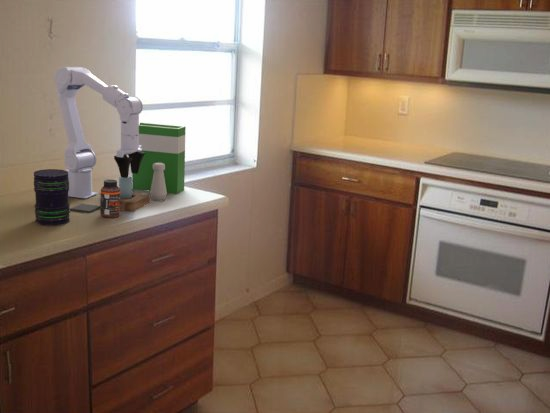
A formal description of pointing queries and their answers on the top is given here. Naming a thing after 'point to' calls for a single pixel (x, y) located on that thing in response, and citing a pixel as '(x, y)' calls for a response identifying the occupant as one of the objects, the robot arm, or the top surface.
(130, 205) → the holder
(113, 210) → the supplement bottle
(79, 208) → the mat
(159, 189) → the salt shaker
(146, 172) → the green cereal box
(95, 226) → the top surface
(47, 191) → the storage jar
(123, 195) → the peg
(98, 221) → the top surface
